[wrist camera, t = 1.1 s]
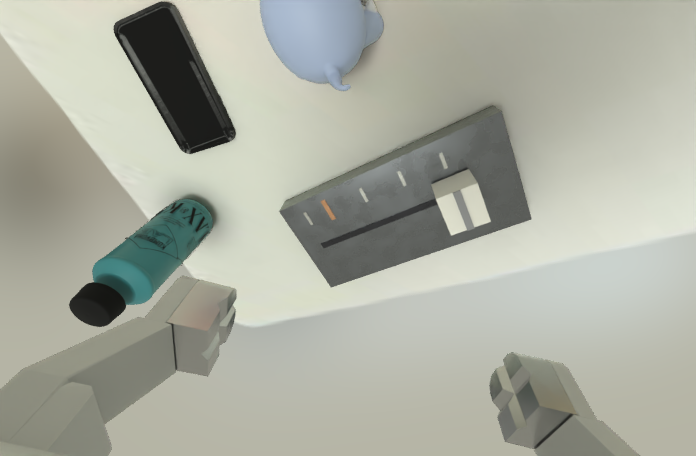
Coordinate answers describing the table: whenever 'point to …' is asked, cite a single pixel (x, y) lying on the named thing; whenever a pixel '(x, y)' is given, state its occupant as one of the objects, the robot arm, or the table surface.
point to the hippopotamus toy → (320, 35)
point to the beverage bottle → (142, 262)
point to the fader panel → (407, 200)
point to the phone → (175, 77)
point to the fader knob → (461, 202)
